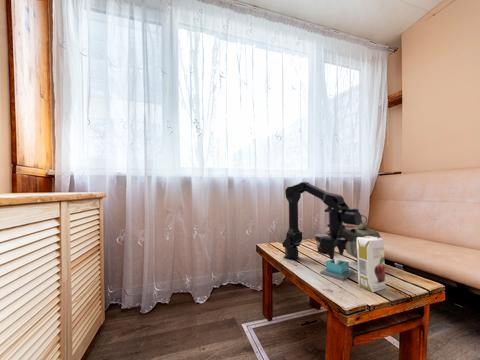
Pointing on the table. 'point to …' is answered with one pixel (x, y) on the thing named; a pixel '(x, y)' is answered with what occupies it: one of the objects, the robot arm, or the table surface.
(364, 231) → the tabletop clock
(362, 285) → the juice carton
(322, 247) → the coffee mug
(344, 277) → the station
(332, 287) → the table surface
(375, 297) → the table surface
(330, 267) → the teal square ring
